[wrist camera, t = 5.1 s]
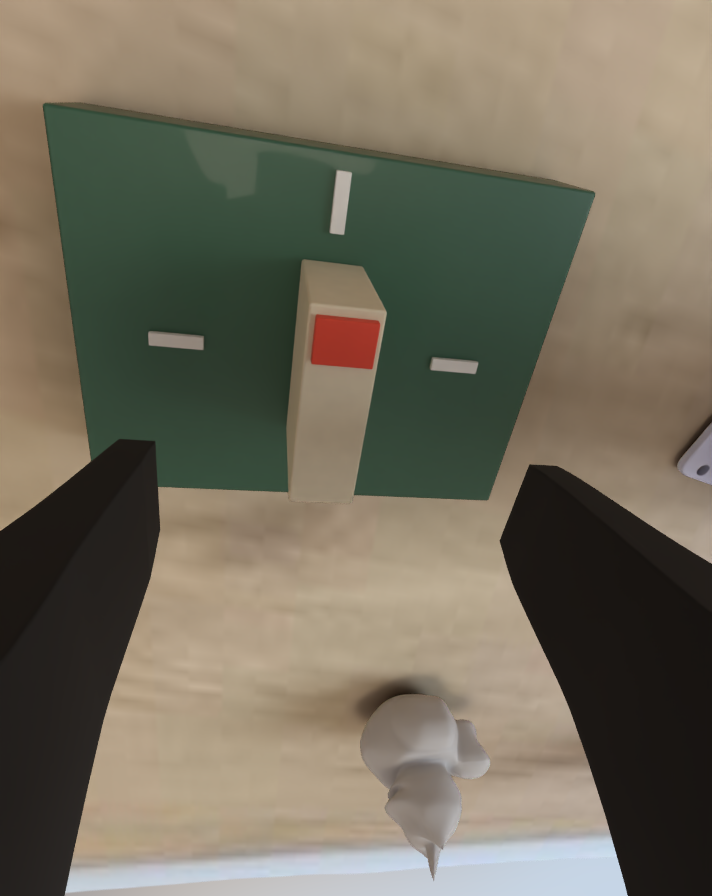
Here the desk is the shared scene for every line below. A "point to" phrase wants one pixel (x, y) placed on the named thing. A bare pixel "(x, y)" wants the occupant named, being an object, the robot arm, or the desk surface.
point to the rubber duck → (422, 766)
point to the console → (277, 288)
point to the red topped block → (331, 380)
